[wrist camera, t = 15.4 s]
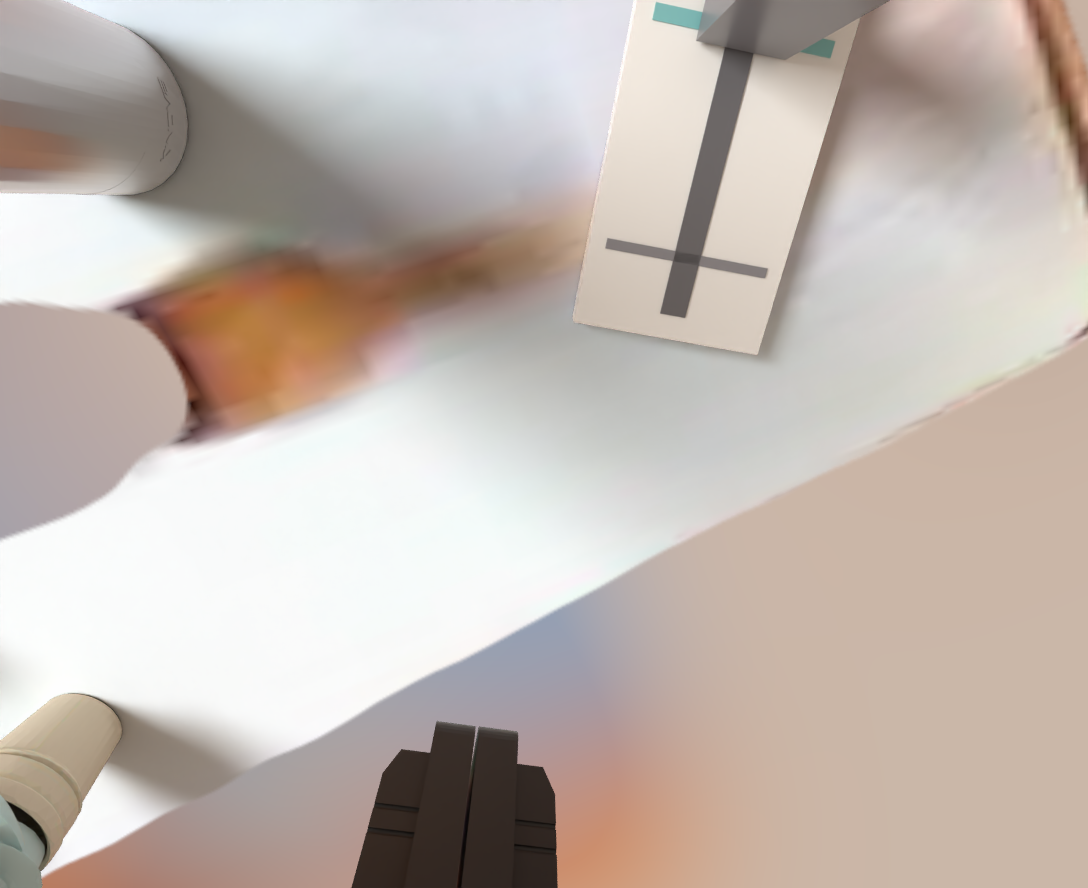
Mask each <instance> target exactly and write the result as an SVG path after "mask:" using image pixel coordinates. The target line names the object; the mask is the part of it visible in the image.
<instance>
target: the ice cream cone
mask: <svg viewBox="0 0 1088 888" xmlns="http://www.w3.org/2000/svg"><path fill="white" fill-rule="evenodd" d="M121 735H122V726H121V723H120V720H119V719H118V717H117V715H116V714H115V713H114V712H113V710H112V709H111V708H109V707H108V706H107V705H105V704H104V703H102V702H101V701H99V700H97V699H95V698H93V697H89V696H86V695H80V694H64V695H60V696H57V697H54V698H53V699H51V700H49V701H48V702H47V703H46V704H45V705H43V706H42V707H41V708H40V709H38V710H37V711H36V712H35V713H34V714H32V715H31V716H30V717H29V718H27V719H26V720H25V721H24V722H23V723H21V724H20V725H19V726H18V727H16V728H15V729H14V730H13V731H12V732H10V733H9V734H8V735H7V736H5V737H4V738H3V739H2V740H0V888H42V879H41V872H40V871H42V870H43V869H44V868H45V867H46V865H47V864H48V863H49V862H50V861H51V860H52V858H53V857H54V855H55V854H56V852H57V851H58V850H59V848H60V846H61V844H62V841H63V838H64V837H65V835H66V834H67V833H68V831H69V830H70V828H71V827H72V825H73V824H74V822H75V820H76V819H77V816H78V815H79V813H80V812H81V808H82V802H83V800H84V799H85V797H86V795H87V794H88V792H89V790H90V789H91V787H92V785H93V784H94V782H95V780H96V779H97V777H98V775H99V774H100V772H101V770H102V769H103V767H104V765H105V764H106V762H107V760H108V759H109V757H110V755H111V754H112V752H113V750H114V749H115V747H116V745H117V744H118V742H119V740H120V739H121Z"/></svg>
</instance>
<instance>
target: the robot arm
mask: <svg viewBox="0 0 1088 888" xmlns="http://www.w3.org/2000/svg"><path fill="white" fill-rule="evenodd" d="M187 131H188V122H187V114H186V107H185V103H184V100H183V97H182V93H181V90H180V88H179V86H178V84H177V82H176V80H175V78H174V76H173V74H172V72H171V70H170V69H169V67H168V66H167V65H166V63H165V62H164V61H163V59H162V58H161V56H160V55H159V54H158V53H157V52H156V51H155V50H154V49H153V48H152V47H151V46H150V45H149V44H148V43H147V42H146V41H145V40H144V39H142V38H141V37H139V36H138V35H136V34H135V33H133V32H132V31H130V30H129V29H127V28H125V27H123V26H120V25H118V24H116V23H113V22H111V21H109V20H106V19H104V18H102V17H99V16H97V15H95V14H92V13H90V12H88V11H85V10H83V9H81V8H78V7H76V6H74V5H72V4H70V3H68V2H65V1H63V0H0V193H31V194H82V195H135V194H139V193H143V192H147V191H150V190H152V189H154V188H155V187H157V186H159V185H161V184H163V183H164V182H165V181H166V180H167V179H168V178H169V177H170V176H171V175H172V174H173V173H174V171H175V170H176V168H177V166H178V165H179V163H180V161H181V160H182V157H183V153H184V150H185V147H186V144H187ZM474 737H475V726H470V725H462V724H454V723H447V722H439V721H437V722H436V727H435V732H434V737H433V742H432V747H431V752H430V753H426V752H418V751H410V750H403V749H401V751H400V752H399V753H398V755H397V756H396V757H395V758H394V759H393V761H392V762H391V763H390V764H389V766H388V767H387V768H386V770H385V771H384V772H383V774H382V778H381V782H380V785H379V789H378V792H377V796H376V800H375V805H374V808H373V811H372V815H371V818H370V822H369V826H368V830H367V833H366V836H365V840H364V844H363V848H362V851H361V855H360V859H359V862H358V866H357V870H356V873H355V877H354V881H353V884H352V888H557V855H556V830H555V825H556V814H555V793H554V791H553V789H552V787H551V785H550V782H549V780H548V778H547V776H546V773H545V771H544V769H543V767H537V766H529V765H522V764H517V754H518V752H517V751H518V732H517V731H509V730H501V729H493V728H486V727H479V728H478V733H477V738H476V743H475V749H474V754H473V746H474ZM472 754H473V759H472ZM471 762H472V765H471Z"/></svg>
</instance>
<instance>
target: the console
mask: <svg viewBox="0 0 1088 888" xmlns="http://www.w3.org/2000/svg"><path fill="white" fill-rule="evenodd" d="M704 4H705V0H634V2H633V7H632V13H631V18H630V23H629V28H628V33H627V38H626V43H625V48H624V54H623V59H622V64H621V69H620V74H619V79H618V84H617V90H616V95H615V100H614V105H613V110H612V115H611V120H610V125H609V131H608V136H607V141H606V146H605V151H604V156H603V161H602V166H601V172H600V177H599V182H598V187H597V192H596V197H595V202H594V207H593V213H592V218H591V223H590V228H589V233H588V238H587V243H586V248H585V254H584V259H583V264H582V269H581V274H580V279H579V284H578V289H577V295H576V300H575V305H574V310H573V315H572V318H573V321H574V322H575V323H581V324H586V325H592V326H597V327H603V328H608V329H614V330H620V331H625V332H631V333H636V334H642V335H647V336H653V337H658V338H664V339H670V340H675V341H681V342H686V343H692V344H697V345H703V346H709V347H714V348H720V349H725V350H731V351H736V352H742V353H747V354H753V355H758V351H759V348H760V345H761V342H762V338H763V335H764V332H765V329H766V325H767V322H768V319H769V316H770V312H771V309H772V306H773V302H774V299H775V296H776V293H777V289H778V286H779V283H780V280H781V276H782V273H783V270H784V267H785V263H786V260H787V257H788V254H789V250H790V247H791V244H792V240H793V237H794V234H795V231H796V227H797V224H798V221H799V218H800V214H801V211H802V208H803V205H804V201H805V198H806V195H807V191H808V188H809V185H810V182H811V178H812V175H813V172H814V169H815V165H816V162H817V159H818V156H819V152H820V149H821V146H822V142H823V139H824V136H825V133H826V129H827V126H828V123H829V120H830V116H831V113H832V110H833V107H834V103H835V100H836V97H837V93H838V90H839V87H840V84H841V80H842V77H843V74H844V71H845V67H846V64H847V61H848V58H849V54H850V51H851V48H852V45H853V41H854V38H855V35H856V31H857V28H858V25H859V22H860V18H861V17H860V18H858V19H856V20H855V21H853V22H851V23H849V24H848V25H846V26H844V27H842V28H841V29H839V30H837V31H835V32H834V33H832V34H830V35H828V36H827V37H825V38H823V39H821V40H820V41H818V42H816V43H814V44H813V45H811V46H809V47H807V48H806V49H804V50H802V51H800V52H799V53H797V54H795V55H793V56H791V57H790V58H788V59H786V60H783V59H778V58H773V57H769V56H764V55H759V54H755V53H750V52H745V51H741V50H736V49H731V48H727V47H722V46H717V45H713V44H708V43H704V42H699V41H696V39H697V34H698V30H699V26H700V21H701V17H702V12H703V8H704Z"/></svg>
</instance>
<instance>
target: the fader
mask: <svg viewBox="0 0 1088 888" xmlns="http://www.w3.org/2000/svg"><path fill="white" fill-rule="evenodd" d="M888 1H890V0H705V4H704V8H703V12H702V17H701V21H700V26H699V30H698V34H697V39H696V41H699V42H704V43H708V44H713V45H717V46H722V47H727V48H731V49H736V50H741V51H745V52H750V53H755V54H759V55H764V56H769V57H773V58H778V59H783V60H786V59H788V58H790V57H791V56H793V55H795V54H797V53H799V52H800V51H802V50H804V49H806V48H807V47H809V46H811V45H813V44H814V43H816V42H818V41H820V40H821V39H823V38H825V37H827V36H828V35H830V34H832V33H834V32H835V31H837V30H839V29H841V28H842V27H844V26H846V25H848V24H849V23H851V22H853V21H855V20H856V19H858V18H860V17H862V16H863V15H865V14H867V13H869V12H870V11H872V10H874V9H876V8H877V7H879V6H881V5H883V4H884V3H886V2H888Z"/></svg>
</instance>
